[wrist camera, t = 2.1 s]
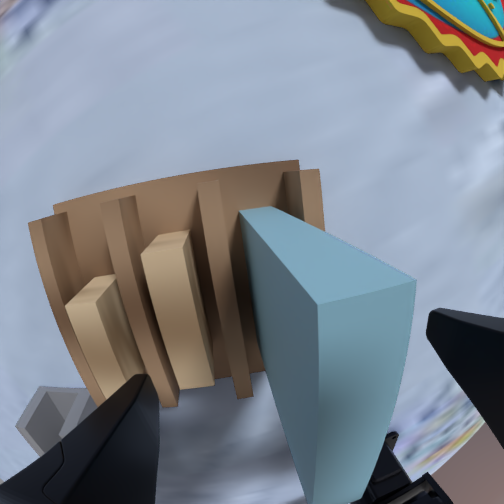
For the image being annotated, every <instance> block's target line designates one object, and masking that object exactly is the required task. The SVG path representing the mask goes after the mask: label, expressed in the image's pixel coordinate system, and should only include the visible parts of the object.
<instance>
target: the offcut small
mask: <svg viewBox="0 0 504 504" xmlns="http://www.w3.org/2000/svg"><path fill="white" fill-rule="evenodd" d="M65 308H66V311H67V314H68V316H69V319H70V322H71V324H72V327H73V329H74V332H75V334H76V337H77V339H78V342H79V344H80V346H81V349H82V351H83V353H84V356H85V358H86V360H87V362H88V364H89V366H90V369H91V371H92V373H93V375H94V377H95V379H96V381H97V383H98V385H99V387H100V389H101V391H102V392H103V394H104V396H105V398H106V400H107V399H108V398H109V397H110V396H111V395H112V394H113V393H114V392H116V391H117V390H118V389H119V388H120V387H121V386H122V385H123V384H124V383H126V382H127V381H128V380H129V379H130V378H131V377H132V376H133V375H135V374H143V371H144V368H145V364H144V362H143V359H142V357H141V354H140V351H139V349H138V346H137V343H136V340H135V337H134V334H133V332H132V329H131V326H130V323H129V320H128V316H127V313H126V310H125V307H124V304H123V300H122V297H121V293H120V290H119V286H118V283H117V279H116V275H115V274H112V275H106V276H100V277H94V278H93V279H92V280H91V281H90V282H89V283H88V284H87V285H86V286H85V287H84V288H83V289H82V290H81V291H80V292H79V293H78V294H77V295H76V296H75V297H74V298H73V299H72V300H70V301H69V302H68V303H67V304H66V305H65Z"/></svg>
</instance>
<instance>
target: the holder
mask: <svg viewBox="0 0 504 504" xmlns="http://www.w3.org/2000/svg"><path fill="white" fill-rule="evenodd" d="M96 408H98V407H97V405H96V404H95V402H94V400H93V398H92V397H91V395H90V393H89V391H88V389H86V388H57V387H41V386H40V387H39V388H38V390H37V391H36V393H35V394H34V396H33V397H32V399H31V401H30V402H29V404H28V405H27V407H26V409H25V410H24V412H23V414H22V415H21V417H20V419H19V420H18V422H17V424H16V426H15V427H16V428H17V429H18V431H19V432H20V433H21V435H22V436H23V437H24V438H25V440H26V441H27V442H28V443H29V444H30V446H31V447H32V448H33V449H34V450H35V452H36V453H37V454H38V455H39V456H40V457H41V456H42V455H43V454H45V453H46V452H47V451H48V450H50V449H51V448H52V447H53V446H54V445H55V444H56V443H58V442H59V441H61V439H62V438H63V437H65V436H66V435H67V434H68V433H69V432H70V431H71V430H73V429H74V428H75V427H76V426H77V425H78V424H79V423H81V422H82V421H83V420H84V419H85V418H86V417H87V416H89V415H90V414H91V413H92V412H93V411H94V410H95V409H96Z"/></svg>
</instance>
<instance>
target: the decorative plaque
mask: <svg viewBox="0 0 504 504" xmlns="http://www.w3.org/2000/svg"><path fill="white" fill-rule="evenodd" d="M365 1H366V2H367V3H368V5H369V6H370V8H371V9H372V10H373V12H374V13H375V15H376V16H377V18H378V19H379V20H380V21H381V22H382V23H384V24H387V25H392V26H397V27H402V28H404V29H406V30H407V31H409V32H410V34H411V35H412V36H413V37H414V39H415V40H416V41H417V43H418V44H419V45H420V47H421V48H422V49H423V50H424V51H425V52H426V53H428V54H430V53H443V54H444V55H446V57H447V58H448V59H449V60H450V61H451V63H452V64H453V65H454V66H455V68H456V69H457V70H458V71H459V72H460V73H465V72H468V71H472V70H474V71H475V72H476V73H477V74H478V75H479V76H480V77H481V78H482V79H483V80H484V81H485V82H486V81H491V80H496V79H500V80H504V0H365Z"/></svg>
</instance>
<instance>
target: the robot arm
mask: <svg viewBox="0 0 504 504" xmlns="http://www.w3.org/2000/svg"><path fill="white" fill-rule="evenodd" d="M426 336H427V339H428V340H429V342H430V343H431V345H432V346H433V348H434V350H435V351H436V353H437V354H438V356H439V357H440V359H441V361H442V362H443V364H444V365H445V367H446V368H447V370H448V371H449V372H450V374H451V375H452V376H453V378H454V379H455V380H456V382H457V383H458V384H459V386H460V387H461V388H462V390H463V391H464V392H465V394H466V395H467V396H468V398H469V399H470V400H471V402H472V403H473V405H474V406H475V407H476V409H477V410H478V412H479V413H480V414H481V416H482V417H483V419H484V420H485V422H486V423H487V425H488V426H489V428H490V429H491V430H492V432H493V433H494V435H495V437H496V438H497V440H498V441H499V443H500V444H501V446H502V447H503V449H504V318H499V317H492V316H486V315H480V314H474V313H468V312H462V311H456V310H450V309H445V308H437V309H435V310H432V311H431V312H430V313H429V316H428V323H427V329H426ZM398 436H399V434H398V433H397V432H396V431H395V432H392V433H390V434H388V435H386V437H385V440H384V443H383V446H382V449H381V451H380V454H379V457H378V460H377V462H376V465H375V467H374V470H373V472H372V475H371V477H370V480H369V482H368V484H367V487H366V489H365V491H364V493H363V496H362V498H361V499H359V500H356V501H354V502H351V503H350V504H453V502H452V501H451V499H450V498H449V497H448V496H447V494H446V493H445V492H444V491H443V490H442V488H440V486H439V485H438V484H437V482H436V481H435V480H434V479H433V478H432V477H431V475H430V474H429V473H428V472H427V473H425V474H424V475H422V477H421V478H419V479H417V480H416V481H414V482H413V483H412V481H411V480H410V478H409V476H408V475H407V473H406V472H405V470H404V469H403V467H402V465H401V464H400V462H399V461H398V459H397V458H396V456H395V455H394V453H393V449H394V446H395V444H396V441H397V438H398ZM159 444H160V436H159V397H158V393H157V391H156V389H155V386H154V384H153V382H152V379H151V377H150V375H149V374H147V373H143V374H135V375H133V376H132V377H131V378H130V379H129V380H128V381H127V382H126V383H124V384H123V385H122V386H121V387H120V388H119V389H118V390H117V391H116V392H114V393H113V394H112V395H111V396H110V397H109V398H108V399H107V400H105V401H104V402H103V403H102V404H101V405H100V406H99V407H98V408H96V409H95V410H94V411H93V412H92V413H91V414H90V415H89V416H87V417H86V418H85V419H84V420H83V421H82V422H81V423H79V424H78V425H77V426H76V427H75V428H74V429H73V430H71V431H70V432H69V433H68V434H67V435H66V436H65V437H63V438H62V439H61V441H59V442H58V443H56V444H55V445H54V446H53V447H52V448H51V449H50V450H48V451H47V452H46V453H45V454H43V455H42V456H41V457H40V458H38V459H37V460H36V461H34V462H33V463H32V464H30V465H29V466H27V467H26V468H24V469H23V470H22V471H20V472H19V473H17V474H16V475H14V476H13V477H11V478H10V479H8V480H7V481H5V482H4V483H2V484H1V485H0V504H155V495H156V480H157V467H158V456H159Z"/></svg>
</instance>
